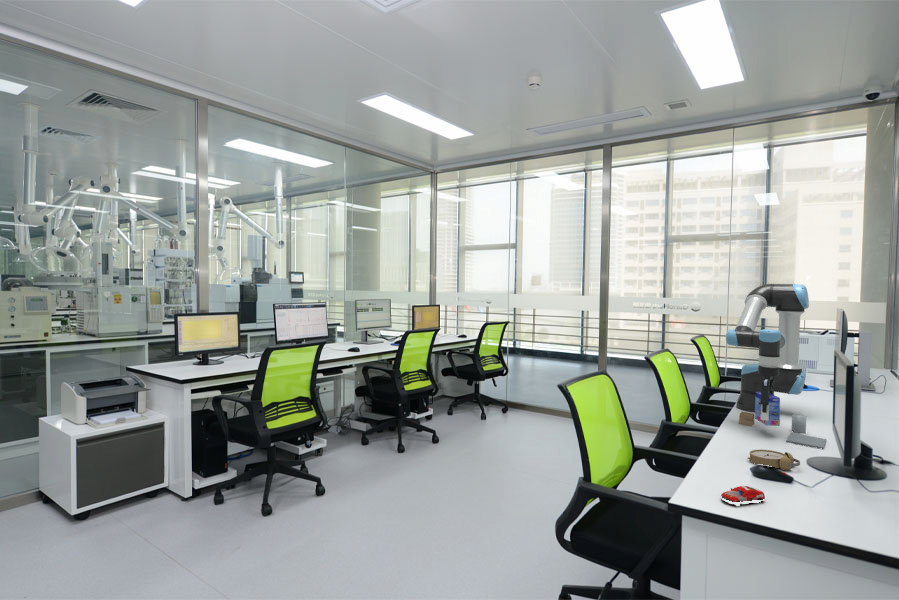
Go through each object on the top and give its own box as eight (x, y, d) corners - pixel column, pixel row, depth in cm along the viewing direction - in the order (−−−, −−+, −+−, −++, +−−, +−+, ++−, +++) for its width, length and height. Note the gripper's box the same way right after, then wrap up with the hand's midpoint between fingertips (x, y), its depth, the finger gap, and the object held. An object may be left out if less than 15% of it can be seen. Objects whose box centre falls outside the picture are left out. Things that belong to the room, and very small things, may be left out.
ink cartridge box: (753, 418, 210) (754, 386, 209) (766, 419, 209) (768, 386, 208) (766, 425, 200) (767, 391, 199) (780, 426, 199) (781, 392, 198)
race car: (731, 508, 135) (732, 494, 135) (716, 500, 141) (716, 486, 140) (768, 503, 139) (769, 490, 139) (752, 495, 144) (753, 482, 144)
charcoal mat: (790, 434, 204) (790, 432, 204) (826, 441, 196) (826, 439, 196) (786, 442, 194) (786, 440, 194) (823, 449, 186) (823, 447, 186)
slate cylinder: (792, 429, 211) (792, 413, 211) (806, 431, 208) (806, 416, 208) (790, 431, 208) (791, 416, 208) (804, 434, 204) (805, 418, 204)
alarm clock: (752, 447, 178) (801, 450, 168) (754, 461, 178) (803, 464, 168) (745, 455, 170) (796, 458, 160) (747, 469, 170) (798, 473, 159)
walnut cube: (741, 422, 222) (741, 411, 222) (754, 424, 219) (754, 413, 218) (739, 424, 218) (739, 413, 218) (751, 426, 215) (752, 415, 215)
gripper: (763, 361, 214) (761, 409, 215) (753, 368, 197) (751, 421, 198) (783, 363, 209) (781, 413, 210) (775, 371, 192) (772, 424, 193)
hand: (766, 416), depth 204 cm, fingers closed on ink cartridge box, 10 cm apart
